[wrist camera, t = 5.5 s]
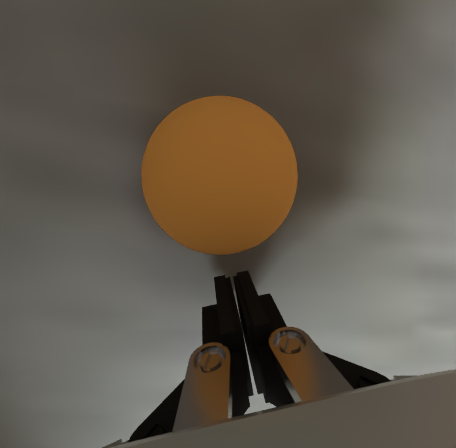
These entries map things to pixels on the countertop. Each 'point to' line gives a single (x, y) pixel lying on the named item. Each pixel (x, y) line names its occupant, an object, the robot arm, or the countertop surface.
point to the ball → (219, 175)
